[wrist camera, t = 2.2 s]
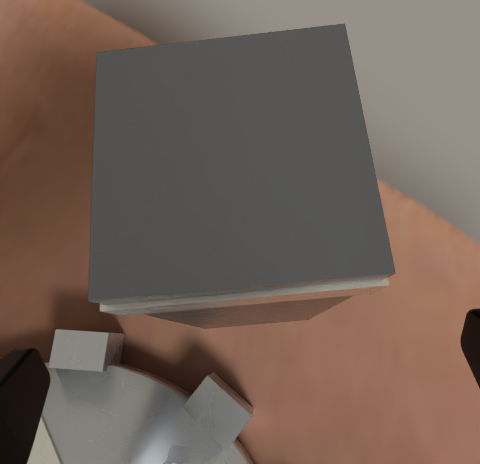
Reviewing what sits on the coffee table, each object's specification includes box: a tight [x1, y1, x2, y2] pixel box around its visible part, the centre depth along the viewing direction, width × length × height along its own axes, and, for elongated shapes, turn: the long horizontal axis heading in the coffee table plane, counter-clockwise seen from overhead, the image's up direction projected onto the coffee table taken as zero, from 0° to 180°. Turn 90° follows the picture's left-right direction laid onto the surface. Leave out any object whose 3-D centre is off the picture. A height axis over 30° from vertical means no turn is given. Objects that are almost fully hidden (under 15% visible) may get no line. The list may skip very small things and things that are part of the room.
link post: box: [88, 24, 396, 329], centre depth 13 cm, size 5×5×12 cm
